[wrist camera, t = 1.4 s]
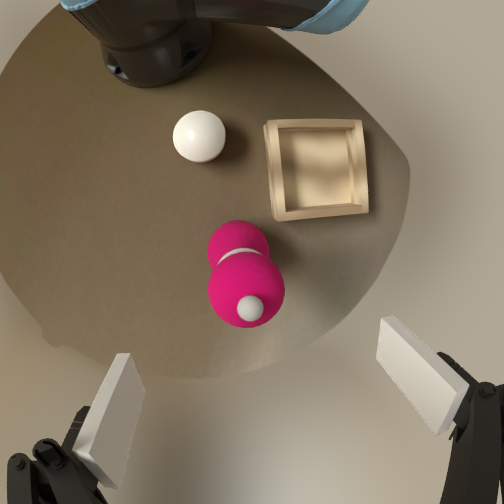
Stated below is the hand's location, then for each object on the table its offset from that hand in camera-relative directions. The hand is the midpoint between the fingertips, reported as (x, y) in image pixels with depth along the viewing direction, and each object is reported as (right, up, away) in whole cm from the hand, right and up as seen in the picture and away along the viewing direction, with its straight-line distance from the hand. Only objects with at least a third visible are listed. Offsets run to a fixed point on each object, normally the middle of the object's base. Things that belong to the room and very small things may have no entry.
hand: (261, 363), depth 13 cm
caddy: (+8, +17, +22) cm, 29 cm away
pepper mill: (-2, +7, +24) cm, 25 cm away
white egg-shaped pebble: (-7, +20, +20) cm, 29 cm away
